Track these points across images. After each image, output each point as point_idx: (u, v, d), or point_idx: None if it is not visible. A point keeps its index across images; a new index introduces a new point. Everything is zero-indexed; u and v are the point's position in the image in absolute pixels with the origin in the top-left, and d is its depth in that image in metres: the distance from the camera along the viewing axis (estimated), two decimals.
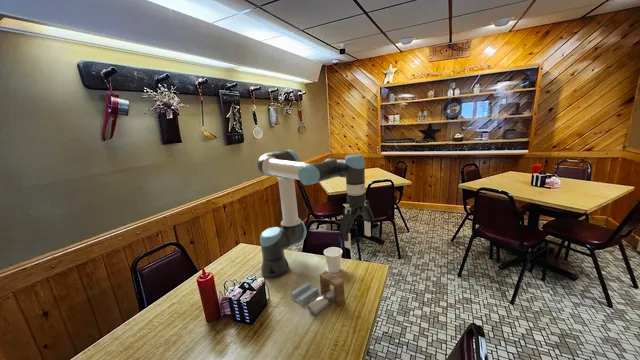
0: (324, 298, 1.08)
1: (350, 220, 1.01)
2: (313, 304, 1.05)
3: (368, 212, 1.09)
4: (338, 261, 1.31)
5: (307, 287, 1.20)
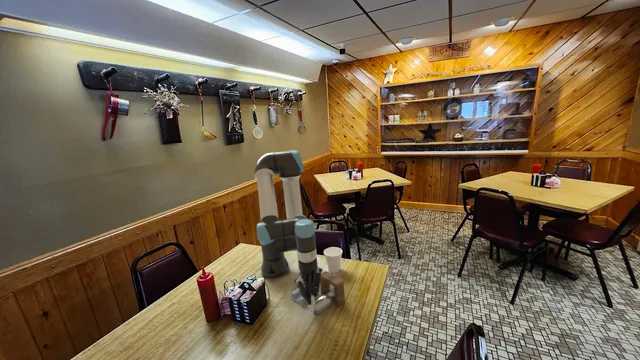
0: (328, 298, 1.08)
1: (307, 286, 1.01)
2: (317, 304, 1.05)
3: (316, 282, 1.05)
4: (338, 261, 1.31)
5: None
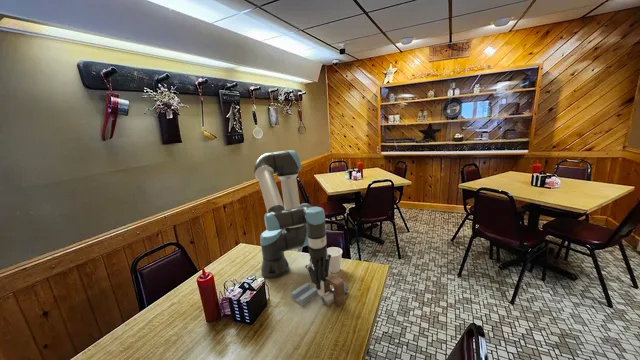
0: None
1: (317, 272, 1.04)
2: (326, 295, 1.09)
3: (325, 267, 1.08)
4: (338, 261, 1.31)
5: (307, 287, 1.20)
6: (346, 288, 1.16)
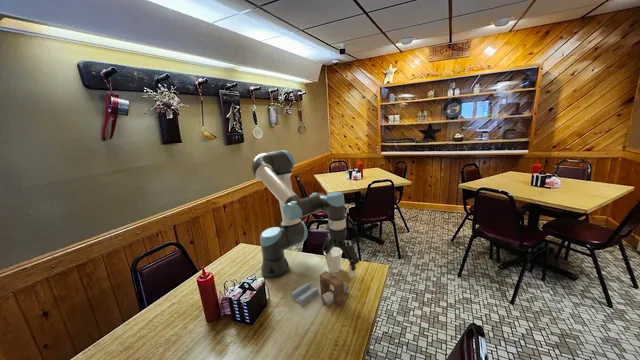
0: None
1: None
2: (326, 295, 1.09)
3: None
4: (338, 261, 1.31)
5: (307, 287, 1.20)
6: (346, 288, 1.16)
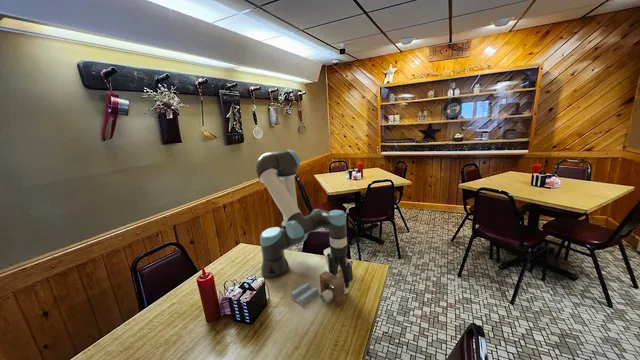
0: None
1: None
2: (326, 293, 1.10)
3: None
4: None
5: (307, 287, 1.20)
6: None
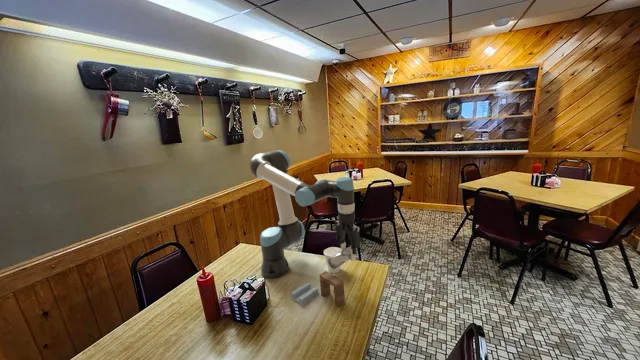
0: (343, 254, 1.15)
1: None
2: (334, 258, 1.12)
3: None
4: None
5: (307, 287, 1.20)
6: None
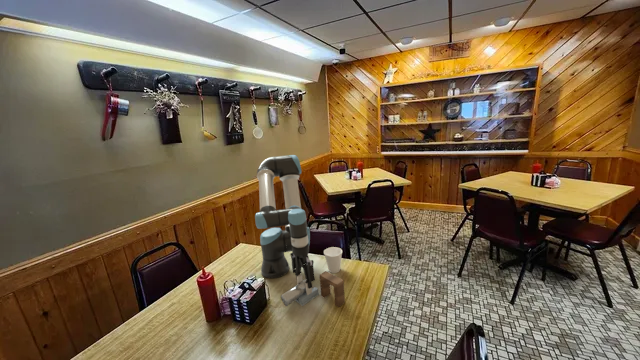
0: (297, 288, 1.12)
1: None
2: (285, 295, 1.08)
3: None
4: (338, 261, 1.31)
5: None
6: None
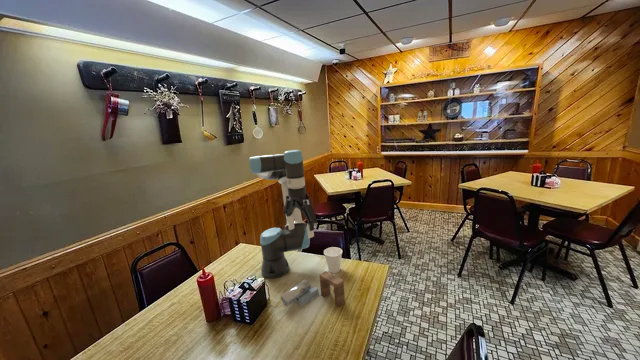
0: (297, 288, 1.12)
1: None
2: (285, 295, 1.08)
3: None
4: (338, 261, 1.31)
5: None
6: (307, 286, 1.14)
